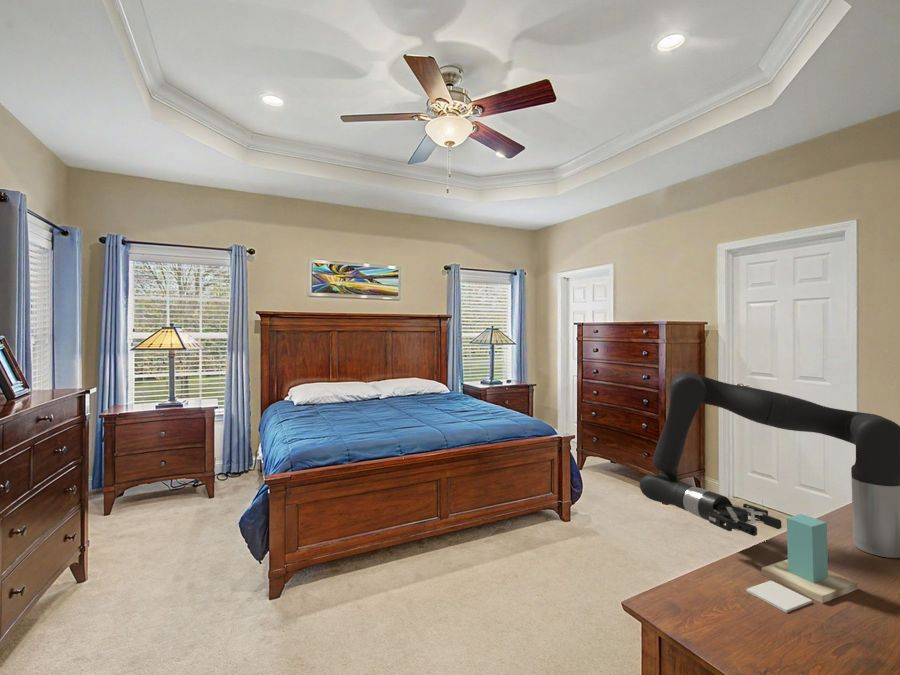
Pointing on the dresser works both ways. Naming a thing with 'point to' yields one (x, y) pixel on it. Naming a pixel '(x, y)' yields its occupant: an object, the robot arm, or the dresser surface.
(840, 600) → the dresser surface
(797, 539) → the tall teal pillar
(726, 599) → the dresser surface
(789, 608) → the mat
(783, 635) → the dresser surface
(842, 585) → the post stand
